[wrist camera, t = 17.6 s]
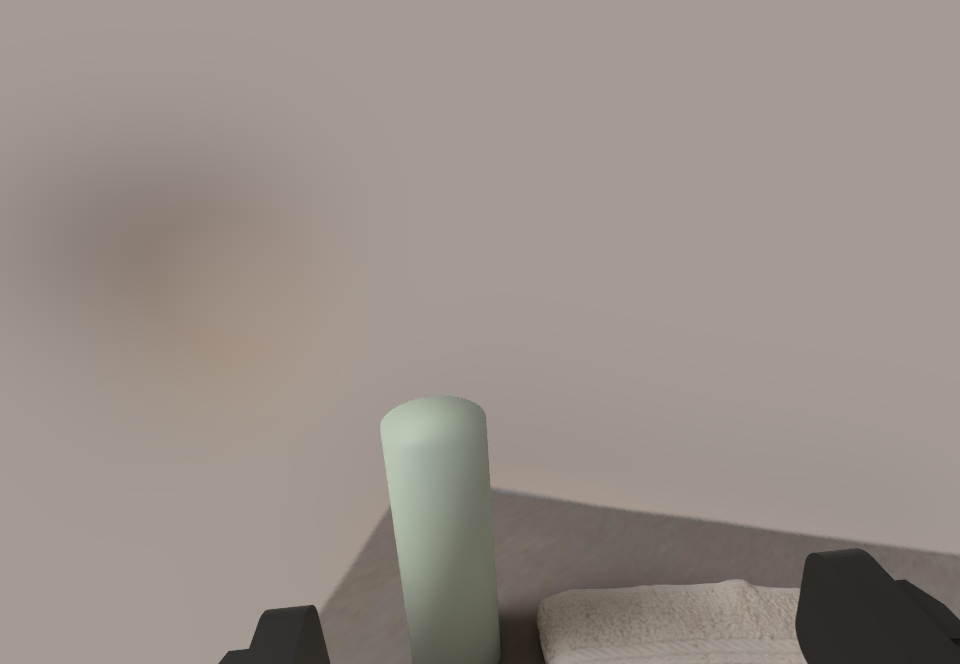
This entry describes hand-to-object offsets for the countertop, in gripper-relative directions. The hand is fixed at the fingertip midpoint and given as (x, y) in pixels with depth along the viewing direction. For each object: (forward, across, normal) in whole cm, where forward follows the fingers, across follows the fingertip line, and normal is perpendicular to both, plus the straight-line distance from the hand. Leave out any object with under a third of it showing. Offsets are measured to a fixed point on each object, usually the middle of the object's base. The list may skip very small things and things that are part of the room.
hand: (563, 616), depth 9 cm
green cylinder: (+17, +3, +21) cm, 27 cm away
